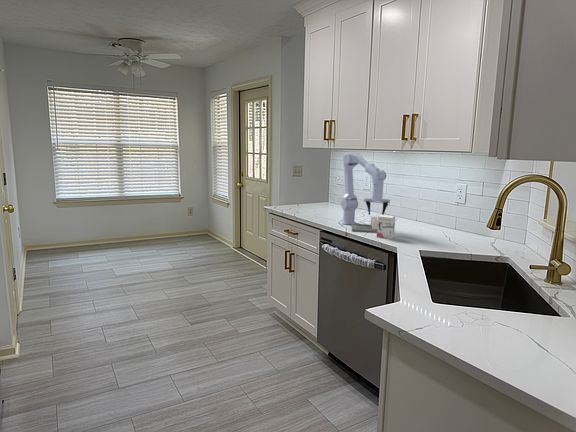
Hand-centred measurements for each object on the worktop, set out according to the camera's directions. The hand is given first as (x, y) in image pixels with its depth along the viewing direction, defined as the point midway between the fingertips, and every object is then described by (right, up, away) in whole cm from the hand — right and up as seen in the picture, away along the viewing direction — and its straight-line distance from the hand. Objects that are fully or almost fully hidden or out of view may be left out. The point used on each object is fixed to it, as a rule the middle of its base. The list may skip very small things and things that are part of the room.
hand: (375, 214), depth 235 cm
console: (-3, -9, +6) cm, 11 cm away
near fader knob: (0, -8, +1) cm, 8 cm away
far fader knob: (+1, -6, +10) cm, 12 cm away
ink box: (+2, -13, -13) cm, 18 cm away
